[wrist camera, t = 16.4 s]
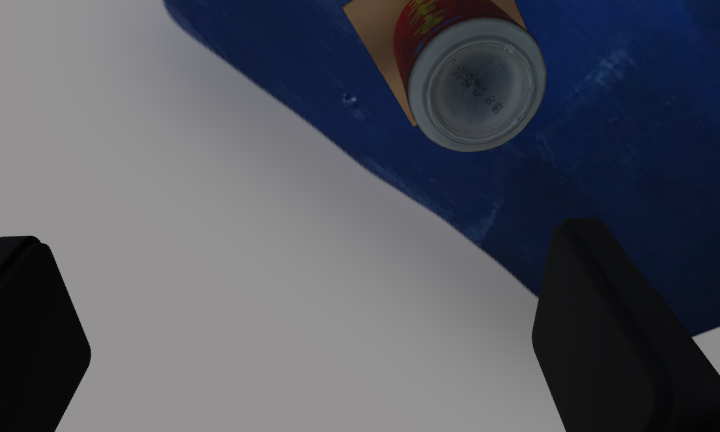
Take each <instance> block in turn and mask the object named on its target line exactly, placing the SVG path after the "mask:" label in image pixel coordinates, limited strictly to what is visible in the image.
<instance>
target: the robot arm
mask: <svg viewBox="0 0 720 432" xmlns="http://www.w3.org/2000/svg"><path fill="white" fill-rule="evenodd" d="M532 343H533V348H534V352H535V354H536V357H537V359H538V362H539V364H540V367H541V369H542V372H543V374H544V377H545V380H546V382H547V385H548V387H549V389H550V392H551V395H552V397H553V400H554V402H555V405H556V407H557V410H558V412H559V415H560V417H561V420H562V422H563V425H564V427H565V430H566V432H720V375H719V374H718V372H717V371H716V370H715V368H714V367H713V366H712V364H711V363H710V362H709V360H708V359H707V358H706V356H705V355H704V354H703V353H702V351H701V350H700V348H699V347H698V346H697V344H696V343H695V342H694V340H693V339H692V338H691V336H690V335H689V333H688V332H687V331H686V329H685V328H684V327H683V325H682V324H681V323H680V321H679V320H678V319H677V317H676V316H675V315H674V313H673V312H672V311H671V309H670V308H669V307H668V305H667V304H666V303H665V301H664V300H663V299H662V297H661V296H660V295H659V294H658V293H657V292H656V291H655V290H654V289H653V288H651V286H650V285H649V283H648V282H647V281H646V279H645V278H644V277H643V275H642V274H641V273H640V271H639V270H638V269H637V267H636V266H635V265H634V263H633V262H632V260H631V259H630V258H629V256H628V255H627V254H626V252H625V251H624V250H623V248H622V247H621V246H620V244H619V243H618V242H617V240H616V239H615V238H614V236H613V235H612V233H611V232H610V231H609V229H608V228H607V227H606V225H605V224H604V223H603V221H602V220H601V219H600V218H596V217H595V218H567V219H565V220H564V222H563V224H562V226H556V227H555V228H554V229H553V232H552V236H551V241H550V246H549V251H548V256H547V261H546V266H545V271H544V276H543V281H542V286H541V291H540V296H539V301H538V306H537V311H536V316H535V321H534V325H533V331H532ZM90 359H91V349H90V345H89V343H88V340H87V338H86V335H85V333H84V331H83V328H82V326H81V323H80V321H79V318H78V316H77V313H76V311H75V308H74V306H73V303H72V301H71V298H70V296H69V294H68V291H67V289H66V286H65V284H64V281H63V279H62V276H61V274H60V272H59V269H58V267H57V264H56V261H55V259H54V257H53V254H52V252H51V249H50V248H49V246H48V245H47V244H44V243H41V242H40V240H38V238H36V237H34V236H11V237H10V236H9V237H0V432H55V430H56V428H57V426H58V424H59V422H60V420H61V418H62V416H63V415H64V412H65V411H66V409H67V407H68V405H69V403H70V401H71V399H72V397H73V395H74V393H75V391H76V390H77V388H78V385H79V384H80V382H81V380H82V378H83V376H84V374H85V372H86V370H87V368H88V366H89V364H90Z"/></svg>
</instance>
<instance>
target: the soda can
mask: <svg viewBox="0 0 720 432" xmlns="http://www.w3.org/2000/svg"><path fill="white" fill-rule="evenodd" d="M393 47H394V55H395V59H396V62H397V66H398V70H399V73H400V77H401V81H402V84H403V87H404V91H405V94H406V98H407V102H408V105H409V108H410V111H411V114H412V117H413V119H414V120H415V122H416V123H417V125H418V127H419V128H420V129H421V131H422V132H423V133H424V134H425V135H426V136H427V137H428V138H429V139H430V140H432V141H433V142H435V143H437V144H439V145H440V146H442V147H445V148H448V149H451V150H456V151H460V152H474V151H483V150H487V149H491V148H494V147H497V146H500V145H502V144H504V143H505V142H507V141H509V140H510V139H512V138H513V137H515V136H516V135H517V134H519V133H520V132H521V131H522V130H523V129H524V128H525V127H526V125H527V124H528V123H529V122H530V121H531V119H532V118H533V117H534V115H535V114H536V112H537V110H538V108H539V106H540V104H541V102H542V99H543V97H544V92H545V87H546V77H547V72H546V64H545V61H544V58H543V55H542V52H541V50H540V47H539V45H538V43H537V41H536V40H535V38H534V37H533V36H532V35H531V34H530V33H529V32H528V31H527V30H526V29H525V28H523V27H522V26H521V25H520V24H518V23H517V22H516V21H515V20H514V19H512V18H511V17H510V16H509V15H508V14H507V13H506V12H504V11H503V10H502V9H501V8H500V7H499V6H497V5H496V4H495V3H494V2H492V1H491V0H411V1H410V2H409V3H408V4H407V5H406V6H405V7H404V9H403V10H402V12H401V14H400V16H399V19H398V21H397V23H396V26H395V31H394V36H393Z"/></svg>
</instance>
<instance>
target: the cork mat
mask: <svg viewBox="0 0 720 432" xmlns="http://www.w3.org/2000/svg"><path fill="white" fill-rule="evenodd" d="M410 1H411V0H352V1H350V2H349V3H347V4H345V5H344V6H343V10H344V12H345V13H346V15H347V17H348V18H349V20H350V22H351V23H352V25H353V27H354V28H355V30H356V32H357V33H358V35H359V37H360V38H361V40H362V42H363V43H364V45H365V47H366V48H367V50H368V52H369V53H370V55H371V57H372V58H373V60H374V62H375V63H376V65H377V67H378V68H379V70H380V72H381V73H382V75H383V77H384V78H385V80H386V82H387V83H388V85H389V87H390V88H391V90H392V92H393V93H394V95H395V97H396V98H397V100H398V102H399V103H400V105H401V107H402V108H403V110H404V112H405V113H406V115H407V117H408V119H409V120H410V122H411V124H412V125H413V126H416V125H417V123H416V122H415V120H414V119H413V117H412V114H411V111H410V108H409V105H408V102H407V98H406V94H405V91H404V87H403V84H402V81H401V77H400V73H399V70H398V66H397V62H396V59H395V55H394V47H393V36H394V31H395V26H396V23H397V21H398V19H399V16H400V14H401V12H402V10H403V9H404V7H405V6H406V5H407V4H408V3H409V2H410ZM491 1H492V2H494V3H495V4H496V5H497V6H499V7H500V8H501V9H502V10H503V11H504V12H506V13H507V14H508V15H509V16H510V17H511V18H512V19H514V20H515V21H516V22H517V23H518V24H520V25H521V26H522V27H523V28H525V29H526V26H525V24H524V22H523V19H522V17H521V15H520V12H519V10H518V8H517V5H516V3H515V1H514V0H491ZM526 30H527V29H526Z"/></svg>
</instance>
